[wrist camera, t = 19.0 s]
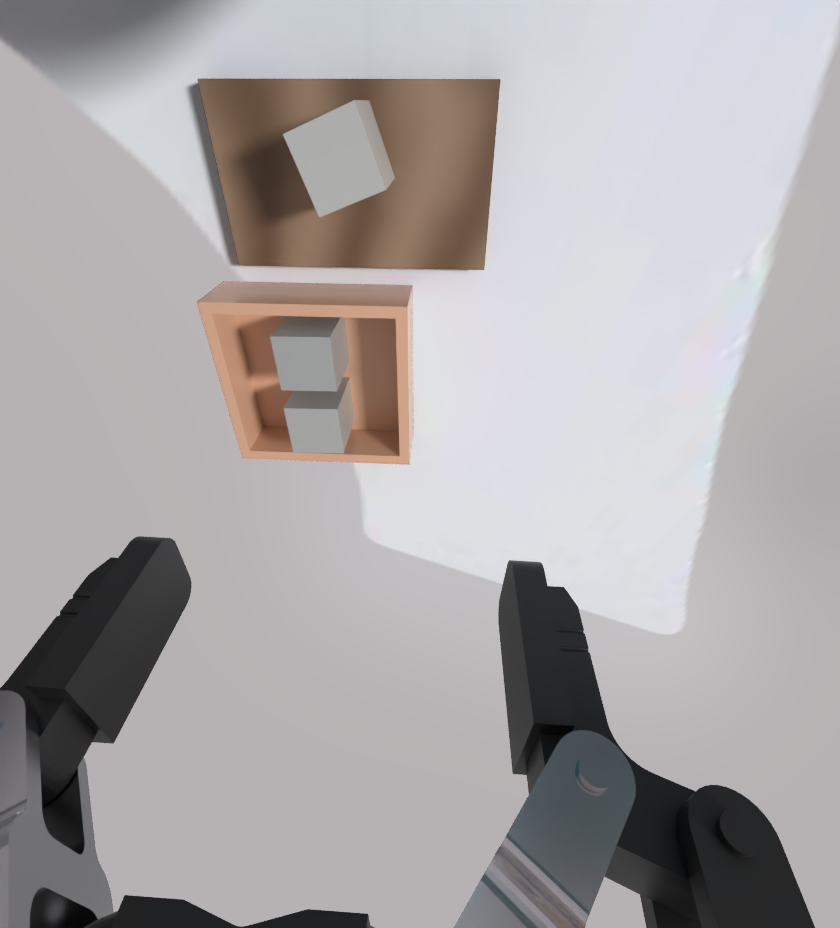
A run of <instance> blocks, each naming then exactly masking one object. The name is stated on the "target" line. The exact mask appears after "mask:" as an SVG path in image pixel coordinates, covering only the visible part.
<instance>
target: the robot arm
mask: <svg viewBox="0 0 840 928" xmlns="http://www.w3.org/2000/svg"><path fill="white" fill-rule="evenodd" d="M190 593H191V579H190V576H189V573H188V571H187V569H186V566H185V564H184V562H183V559H182V557H181V555H180V552H179V550H178V547H177V545H176V543H175V541H174V540H173V539H170V538H156V537H136V538H134V539H133V540H132V541H131V542H130V543H129V544H128V545H127V547H126V548H125V550H124V551H123V552H122V554H121V555H120V556H119V558H110V559H109V560H107V561H106V562H105V563H103V564H102V565H101V566H99V567H98V568H97V569H96V570H94V571H93V572H92V573H90V574H89V575H88V576H87V578H86V579H85V580H84V581H83V583H82V584H81V585H80V587H79V588H78V589H77V591H76V592H75V593H74V594H73V599H70V600H69V601H68V602H67V604H66V605H65V606H64V607H63V609H62V610H61V611H60V616H57V617H56V618H55V619H54V621H53V622H52V623H51V624H50V626H49V627H48V628H47V630H46V631H45V632H44V634H43V635H42V636H41V638H40V639H39V640H38V641H37V643H36V644H35V645H34V647H33V648H32V649H31V650H30V652H29V653H28V654H27V656H26V657H25V658H24V660H23V661H22V662H21V664H20V665H19V666H18V667H17V669H16V670H15V671H14V673H13V674H12V675H11V676H10V678H9V679H8V680H7V681H6V683H5V684H4V685H3V686H2V687H1V688H0V928H374V927H372V926H370V922H369V917H368V914H361V913H348V912H335V911H321V910H309V909H308V910H304V911H300V912H297V913H293V914H289V915H286V916H282V917H278V918H275V919H271V920H268V921H264V922H260V923H257V924H253V925H249V926H244V927H238V926H235V925H233V924H231V923H229V922H227V921H225V920H223V919H221V918H219V917H217V916H215V915H213V914H211V913H209V912H207V911H205V910H203V909H201V908H199V907H197V906H195V905H193V904H191V903H189V902H187V901H185V900H180V899H179V900H178V899H167V898H153V897H140V896H128V895H125V896H124V898H123V901H122V903H121V905H120V908H119V910H118V911H117V912H114V913H113V905H112V898H111V892H110V888H109V884H108V881H107V878H106V875H105V873H104V871H103V869H102V868H101V866H100V864H99V861H98V858H97V854H96V849H95V840H94V831H93V822H92V813H91V804H90V795H89V786H88V776H87V767H86V762H85V759H84V758H83V757H84V755H85V754H86V752H87V750H88V748H89V746H90V745H91V743H92V742H100V743H114V741H115V740H116V738H117V736H118V734H119V732H120V730H121V728H122V726H123V724H124V722H125V721H126V719H127V717H128V715H129V713H130V711H131V709H132V707H133V705H134V703H135V702H136V700H137V698H138V696H139V694H140V692H141V690H142V688H143V686H144V684H145V683H146V681H147V679H148V677H149V675H150V673H151V671H152V669H153V667H154V665H155V664H156V662H157V660H158V658H159V656H160V654H161V652H162V650H163V648H164V646H165V645H166V643H167V641H168V639H169V637H170V635H171V633H172V631H173V629H174V627H175V626H176V624H177V622H178V620H179V618H180V616H181V614H182V612H183V610H184V609H185V607H186V605H187V603H188V600H189V597H190ZM583 630H584V629H583V625H582V621H581V617H580V613H579V609H578V607H577V605H576V604H575V602H574V601H573V599H572V598H571V597H570V595H569V594H568V592H567V591H566V589H565V588H564V587H551V586H547V582H546V577H545V572H544V568H543V565H542V563H540V562H527V561H509V562H508V565H507V569H506V573H505V578H504V582H503V587H502V591H501V596H500V600H499V632H500V642H501V653H502V664H503V674H504V684H505V695H506V705H507V716H508V727H509V738H510V748H511V759H512V769H513V774H524V775H527V781H528V789H529V796H528V798H527V800H526V801H525V803H524V805H523V807H522V808H521V810H520V812H519V814H518V816H517V817H516V819H515V821H514V823H513V825H512V826H511V828H510V830H509V832H508V833H507V835H506V837H505V839H504V841H503V842H502V844H501V846H500V847H499V849H498V851H497V852H496V854H495V856H494V857H493V859H492V861H491V863H490V864H489V866H488V868H487V870H486V871H485V873H484V875H483V877H482V878H481V880H480V882H479V884H478V886H477V887H476V889H475V891H474V893H473V895H472V896H471V898H470V900H469V902H468V903H467V905H466V907H465V909H464V911H463V912H462V914H461V916H460V918H459V919H458V922H457V923H456V925H455V927H454V928H585V925H586V922H587V919H588V916H589V913H590V911H591V908H592V906H593V903H594V901H595V898H596V896H597V893H598V891H599V888H600V886H601V883H602V881H603V878H604V876H605V877H607V878H609V879H611V880H613V881H615V882H617V883H619V884H621V885H623V886H625V887H627V888H628V889H631V890H633V891H635V892H637V893H638V894H640V897H641V902H642V907H643V912H644V917H645V922H646V927H647V928H815V926H814V924H813V922H812V919H811V916H810V914H809V912H808V909H807V906H806V904H805V902H804V899H803V896H802V894H801V892H800V889H799V887H798V884H797V882H796V879H795V877H794V874H793V872H792V869H791V867H790V864H789V862H788V859H787V857H786V854H785V852H784V849H783V847H782V844H781V842H780V840H779V837H778V835H777V833H776V831H775V830H774V828H773V826H772V825H771V823H770V822H769V820H768V819H767V818H766V816H765V815H764V814H763V813H762V812H761V811H760V810H759V809H758V807H757V806H755V805H754V804H753V803H752V802H751V801H750V800H748V799H747V798H746V797H744V796H743V795H741V794H740V793H738V792H736V791H734V790H732V789H729V788H727V787H723V786H719V785H709V786H704V787H702V788H700V789H698V790H697V791H696V792H695V791H693V790H691V789H688V788H686V787H684V786H681V785H679V784H676V783H674V782H672V781H670V780H667V779H665V778H663V777H660V776H658V775H656V774H653V773H651V772H649V771H647V770H645V769H644V768H642V767H641V766H639V765H638V764H636V763H635V762H634V761H633V760H631V759H630V758H629V757H628V756H627V755H626V754H625V753H624V752H623V751H622V749H621V748H620V747H619V745H618V744H617V742H616V741H615V739H614V737H613V735H612V733H611V731H610V729H609V726H608V723H607V719H606V715H605V711H604V707H603V704H602V700H601V696H600V692H599V688H598V684H597V680H596V676H595V672H594V668H593V665H592V660H591V656H590V653H589V652H588V645H587V641H586V637H585V634H584V633H583Z"/></svg>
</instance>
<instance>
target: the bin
mask: <svg viewBox="0 0 840 928" xmlns="http://www.w3.org/2000/svg"><path fill="white" fill-rule="evenodd" d="M197 304H198V308H199V311H200V314H201V318H202V321H203V325H204V328H205V332H206V335H207V338H208V342H209V345H210V349H211V352H212V355H213V359H214V362H215V366H216V369H217V373H218V376H219V380H220V383H221V387H222V390H223V393H224V397H225V400H226V404H227V407H228V411H229V414H230V418H231V421H232V424H233V428H234V431H235V434H236V438H237V441H238V445H239V448H240V452H241V455H242V458H249V459H275V460H302V461H304V460H305V461H329V462H356V463H383V464H409V465H410V457H411V448H412V440H413V318H412V285H367V284H319V283H272V282H224V281H223V282H222V283H221V284H219V285H218V286H217V287H216V288H215V289H213V290H212V291H210V292H209V293H208V294H207V295H205V296H204V297H203V298H201V299H200V300H199V301H198V302H197ZM286 316H305V317H345V323H346V333H347V342H348V351H349V363H348V366H347V368H346V371H345V373H344V376H343V377H350V384H351V393H352V402H353V410H354V422H353V426H352V429H351V432H350V435H349V438H348V442H347V445H346V448H345V451H344V454H343V453H302V452H293V449H292V444H291V440H290V435H289V431H288V426H287V422H286V417H285V413H284V407H285V405H286V403H287V401H288V399H289V398H290V396H291V394H292V392H293V391H291V390H281V386H280V381H279V376H278V372H277V367H276V362H275V358H274V353H273V348H272V344H271V339H270V336H271V334H272V333H273V332H274V331H275V329H276V328H277V327H278V326H279V324H280V323H281V322H282V320H283V319H284V318H285V317H286Z"/></svg>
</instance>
